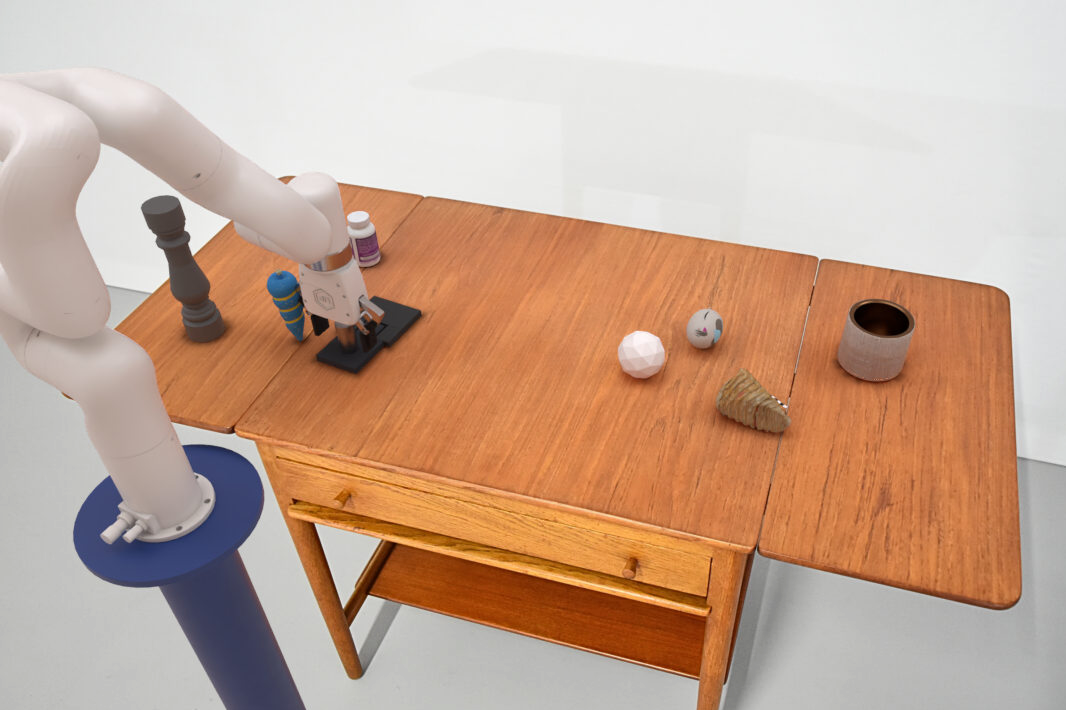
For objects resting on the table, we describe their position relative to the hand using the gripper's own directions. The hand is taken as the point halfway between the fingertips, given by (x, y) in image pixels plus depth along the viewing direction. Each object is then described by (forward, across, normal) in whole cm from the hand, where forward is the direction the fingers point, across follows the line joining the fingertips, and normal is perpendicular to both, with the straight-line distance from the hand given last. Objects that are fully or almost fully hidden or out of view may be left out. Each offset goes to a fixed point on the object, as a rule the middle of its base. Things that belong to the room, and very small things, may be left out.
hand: (346, 339), depth 149 cm
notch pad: (+3, 0, +8) cm, 9 cm away
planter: (+3, +80, +36) cm, 88 cm away
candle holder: (+3, -26, -6) cm, 27 cm away
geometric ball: (+3, +46, +17) cm, 49 cm away
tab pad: (+3, 0, +2) cm, 4 cm away
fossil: (+3, +66, +16) cm, 68 cm away
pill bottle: (+3, -14, +24) cm, 28 cm away
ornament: (+3, -10, -1) cm, 11 cm away
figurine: (+3, +53, +28) cm, 60 cm away
